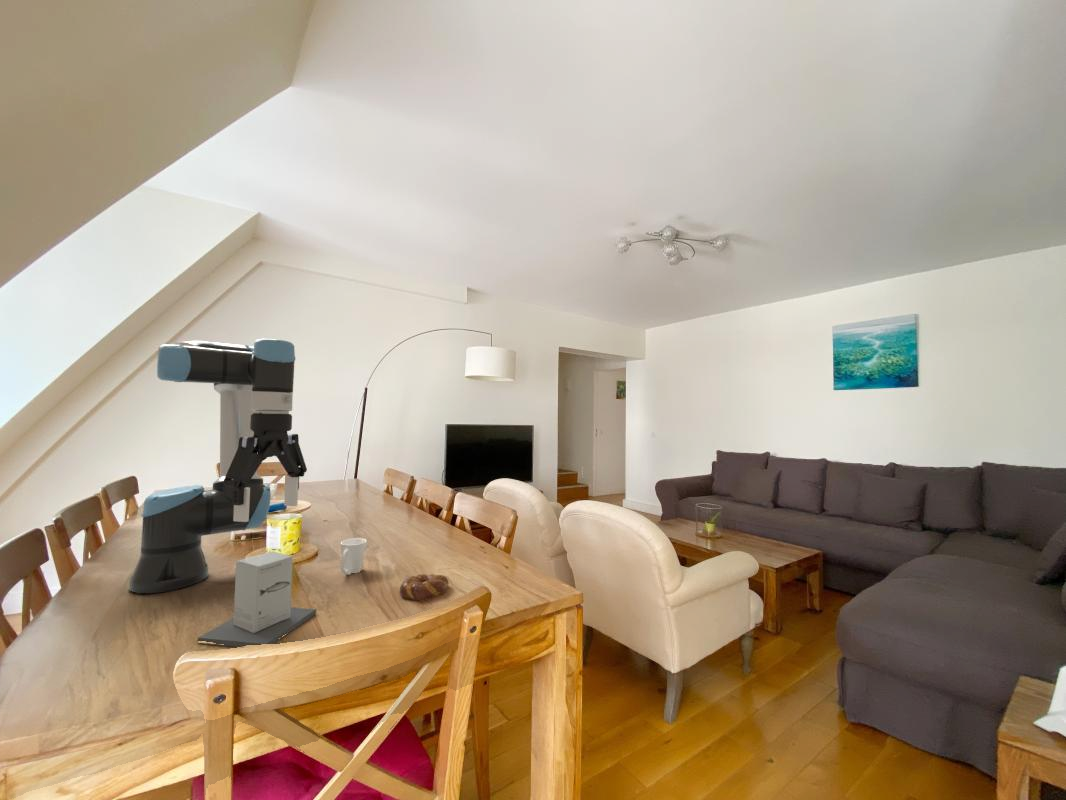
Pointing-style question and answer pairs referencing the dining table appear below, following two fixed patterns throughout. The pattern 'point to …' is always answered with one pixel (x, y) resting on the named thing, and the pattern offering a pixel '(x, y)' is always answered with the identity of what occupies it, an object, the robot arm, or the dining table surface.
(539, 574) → the dining table surface
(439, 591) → the pretzel
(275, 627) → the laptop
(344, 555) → the cup
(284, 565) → the supplement box
